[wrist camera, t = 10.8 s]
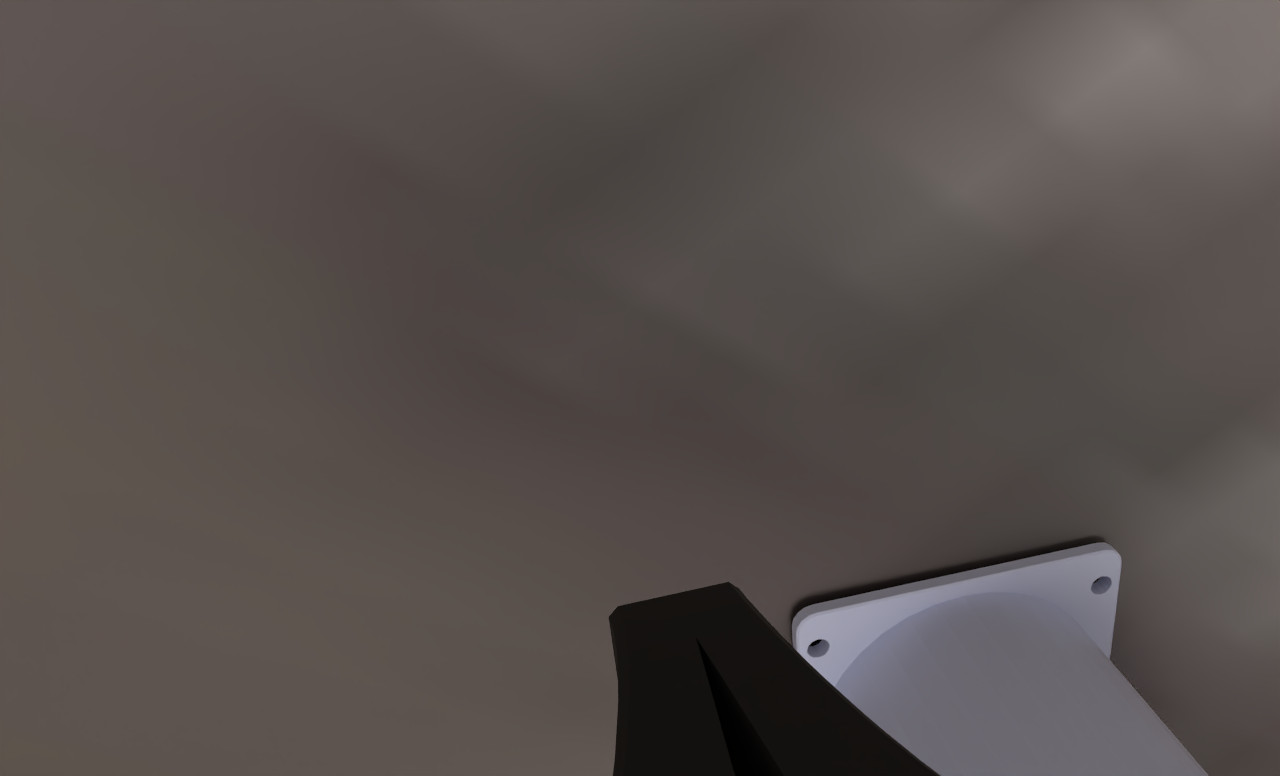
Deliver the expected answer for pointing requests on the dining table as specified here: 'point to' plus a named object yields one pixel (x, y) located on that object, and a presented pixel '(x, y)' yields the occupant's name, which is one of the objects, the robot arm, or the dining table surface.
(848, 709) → the robot arm
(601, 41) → the dining table surface
